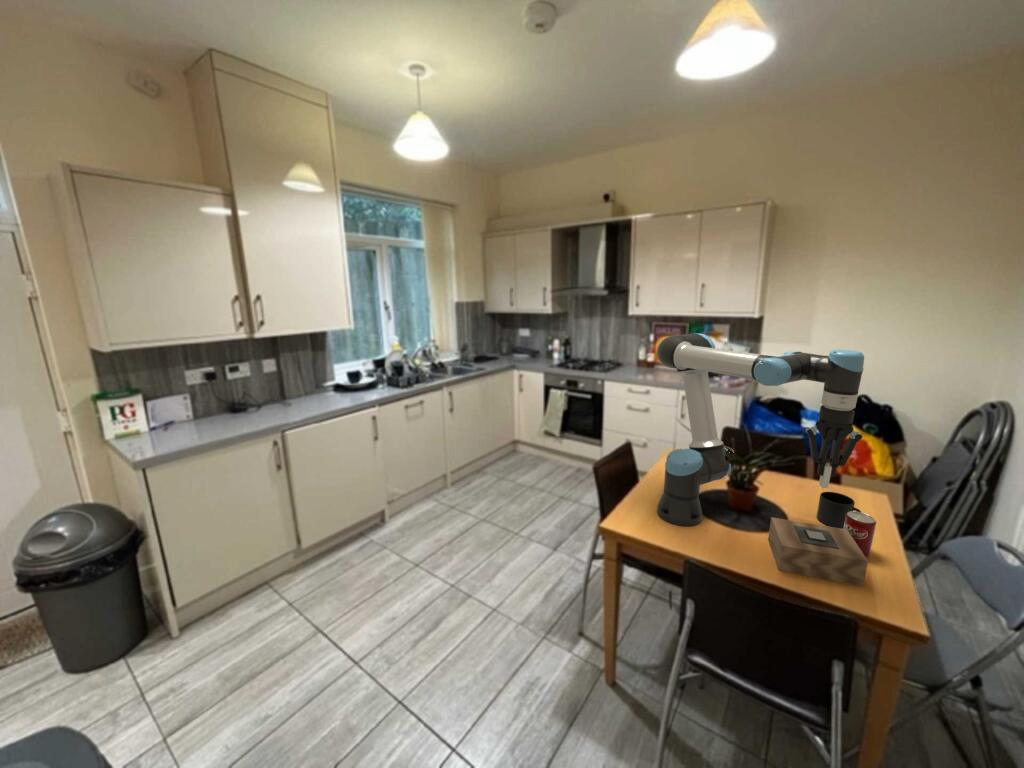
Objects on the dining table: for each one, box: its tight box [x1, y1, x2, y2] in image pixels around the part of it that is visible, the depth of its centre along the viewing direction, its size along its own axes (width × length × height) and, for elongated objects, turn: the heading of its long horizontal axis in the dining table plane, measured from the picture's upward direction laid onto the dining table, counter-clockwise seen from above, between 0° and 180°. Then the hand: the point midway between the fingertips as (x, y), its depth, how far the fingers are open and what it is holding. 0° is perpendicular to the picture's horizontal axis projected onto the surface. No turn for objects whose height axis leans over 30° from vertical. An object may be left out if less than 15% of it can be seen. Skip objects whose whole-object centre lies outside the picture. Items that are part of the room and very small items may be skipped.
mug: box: [816, 491, 862, 529], centre depth 146 cm, size 9×12×9 cm
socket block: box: [767, 516, 869, 587], centre depth 126 cm, size 20×16×8 cm
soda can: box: [843, 510, 877, 558], centre depth 130 cm, size 7×7×12 cm
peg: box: [806, 530, 826, 542], centre depth 126 cm, size 4×4×8 cm
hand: (823, 485), depth 122 cm, fingers closed
